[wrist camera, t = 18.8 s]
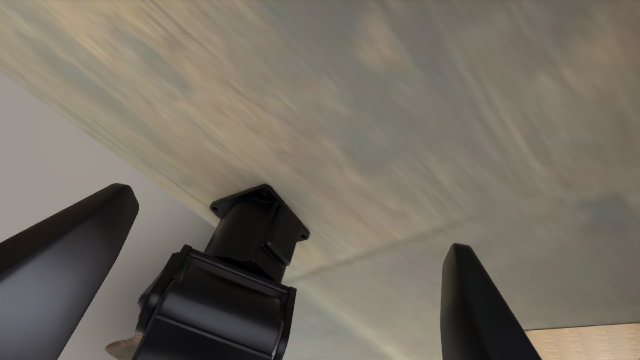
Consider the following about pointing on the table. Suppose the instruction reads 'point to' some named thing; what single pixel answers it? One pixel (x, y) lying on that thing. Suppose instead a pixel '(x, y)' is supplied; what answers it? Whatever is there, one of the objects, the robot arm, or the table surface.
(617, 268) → the table surface
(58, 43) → the table surface
